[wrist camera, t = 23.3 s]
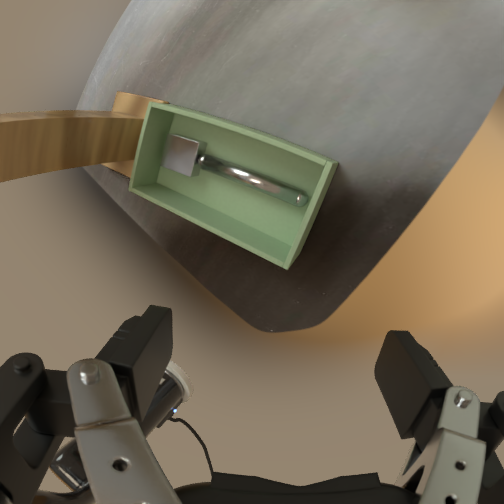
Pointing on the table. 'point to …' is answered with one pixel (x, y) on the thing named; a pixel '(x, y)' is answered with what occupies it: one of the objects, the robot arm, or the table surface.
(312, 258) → the table surface
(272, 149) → the bin
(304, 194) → the silver square-headed tool
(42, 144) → the shelf stand
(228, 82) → the table surface
